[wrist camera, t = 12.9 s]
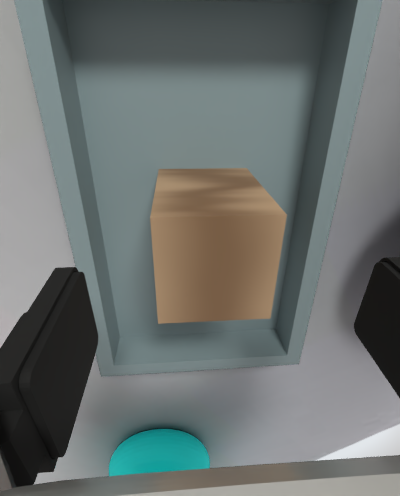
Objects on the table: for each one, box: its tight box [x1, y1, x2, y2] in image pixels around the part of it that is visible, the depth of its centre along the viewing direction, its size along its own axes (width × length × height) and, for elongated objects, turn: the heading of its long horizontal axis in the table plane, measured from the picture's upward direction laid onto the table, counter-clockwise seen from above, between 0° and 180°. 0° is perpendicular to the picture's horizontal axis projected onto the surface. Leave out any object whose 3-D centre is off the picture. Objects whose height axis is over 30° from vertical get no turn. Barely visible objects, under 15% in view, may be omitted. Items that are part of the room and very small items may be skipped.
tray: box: [14, 0, 382, 377], centre depth 17 cm, size 14×22×3 cm, turn 0°
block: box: [150, 168, 287, 324], centre depth 15 cm, size 5×5×7 cm
